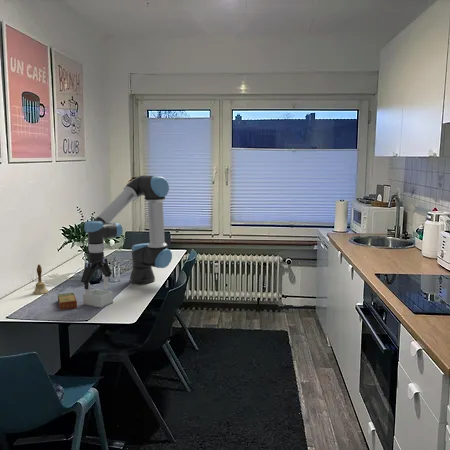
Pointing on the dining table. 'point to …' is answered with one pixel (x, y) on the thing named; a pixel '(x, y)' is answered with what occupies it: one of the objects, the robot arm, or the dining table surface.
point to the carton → (67, 301)
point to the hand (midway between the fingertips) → (97, 291)
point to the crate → (98, 298)
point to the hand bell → (40, 283)
